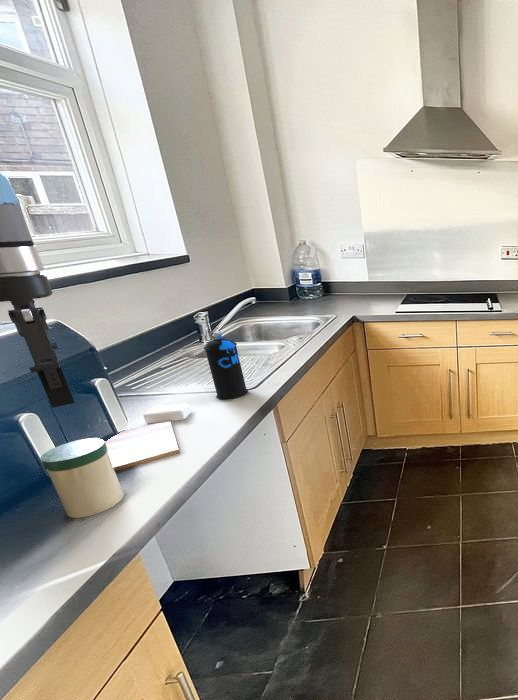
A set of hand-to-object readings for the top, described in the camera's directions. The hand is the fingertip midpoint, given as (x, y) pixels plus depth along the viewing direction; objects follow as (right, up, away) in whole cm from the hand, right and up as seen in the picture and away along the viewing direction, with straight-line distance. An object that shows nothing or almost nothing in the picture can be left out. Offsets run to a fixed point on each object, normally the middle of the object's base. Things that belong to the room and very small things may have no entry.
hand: (59, 394), depth 74 cm
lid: (+2, -10, +1) cm, 11 cm away
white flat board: (-8, -14, +25) cm, 30 cm away
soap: (-12, -9, +39) cm, 42 cm away
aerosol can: (-5, -4, +54) cm, 54 cm away
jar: (+2, -21, +5) cm, 22 cm away
